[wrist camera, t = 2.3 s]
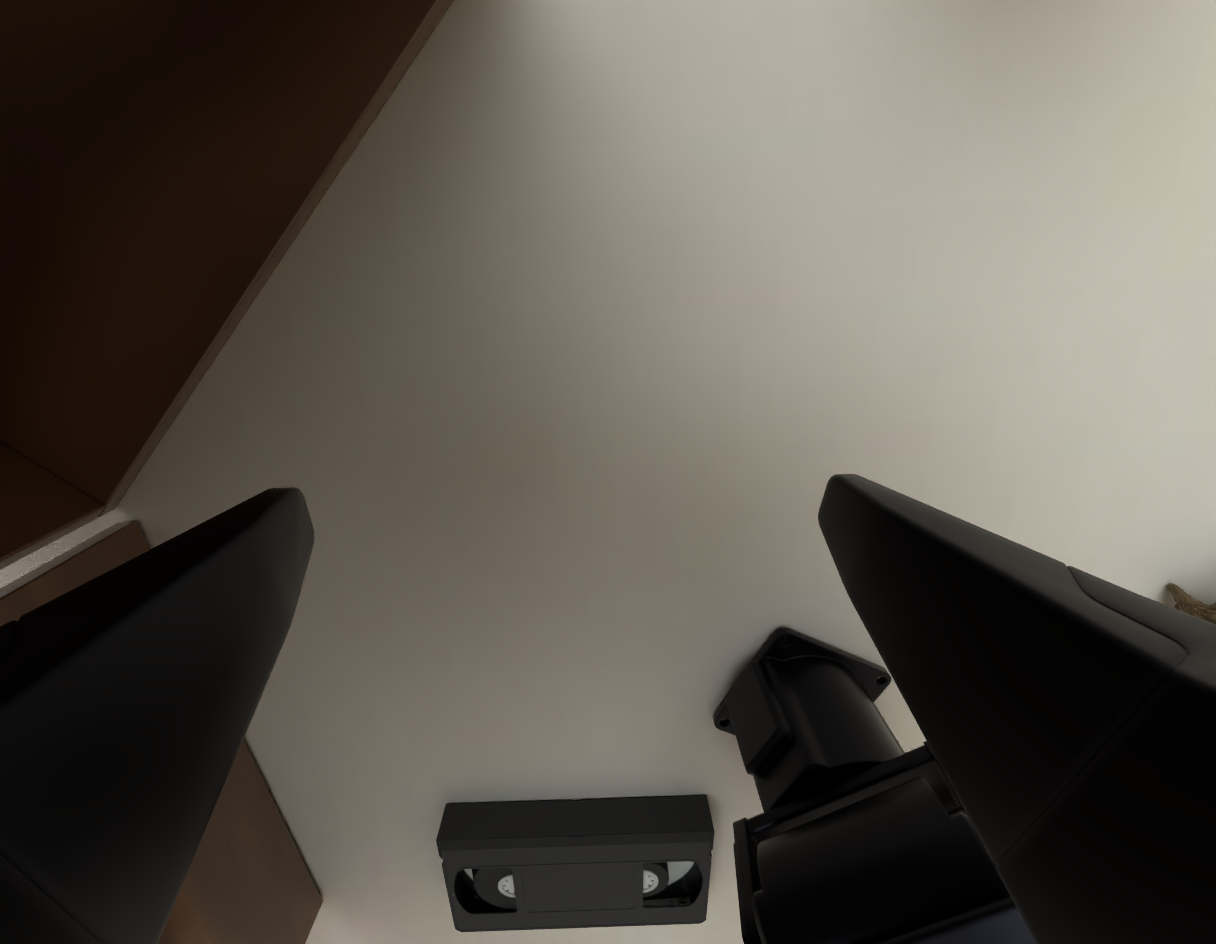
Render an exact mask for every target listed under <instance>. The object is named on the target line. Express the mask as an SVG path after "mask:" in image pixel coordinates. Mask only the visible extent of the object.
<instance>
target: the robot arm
mask: <svg viewBox="0 0 1216 944" xmlns="http://www.w3.org/2000/svg"><path fill="white" fill-rule="evenodd" d="M818 521H819V525H820V528H821V530H822V533H823V535H824V538H825V540H826V543H827V545H828V548H829V550H830V553H831V555H832V557H833V560H834V562H835V565H836V567H837V570H838V572H839V575H840V577H841V580H842V582H843V584H844V586H845V589H846V591H847V593H848V595H849V597H850V599H851V601H852V603H853V605H854V607H855V609H856V611H857V613H858V614H859V616H860V618H861V620H862V622H863V624H864V626H865V627H866V629H867V631H868V633H869V635H870V637H871V638H872V640H873V642H874V644H875V646H876V648H877V650H878V651H879V653H880V655H881V657H882V659H883V661H884V662H885V664H886V666H887V668H888V670H889V672H890V674H891V675H892V677H893V679H894V681H895V683H896V685H897V687H898V688H899V690H900V692H901V694H902V696H903V698H904V699H905V701H906V703H907V705H908V707H909V709H910V711H911V712H912V714H913V716H914V718H915V720H916V722H917V723H918V725H919V727H920V729H921V731H922V733H923V735H924V736H925V738H926V740H927V741H925V742H923V743H924V745H923V746H921V747H918V748H916V749H914V750H911V751H909V752H906V753H905V752H904V751H903V749H902V747H901V746H900V744H899V743H898V741H897V739H896V738H895V736H894V734H893V733H892V731H891V730H890V728H889V726H888V725H887V723H886V722H885V720H884V718H883V717H882V715H881V714H880V712H879V710H878V709H877V707H876V705H875V704H874V701H875V700H876V699H877V698H878V697H879V695H880V694H881V693H882V692H883V691H884V690H885V689H886V687H887V686H888V685H889V684H890V682H891V677H890V675H889V673H888V672H887V671H886V669H884V668H883V667H880V666H878V665H876V664H873V663H871V662H868V661H866V660H864V659H861V658H859V657H856V656H854V655H852V654H849V653H847V652H844V651H842V650H839V649H837V648H835V647H832V646H830V645H827V644H825V643H823V642H820V641H818V640H815V639H813V638H811V637H808V636H806V635H803V634H801V633H798V632H796V631H794V630H791V629H789V628H780V629H777V630H776V631H775V632H774V633H773V634H772V636H771V637H770V638H769V640H768V641H767V642H766V644H765V645H764V646H763V648H762V649H761V650H760V652H759V653H758V655H757V656H756V657H755V659H754V660H753V661H752V662H751V663H750V664H749V666H748V667H747V668H746V670H745V671H744V672H743V674H742V675H741V676H740V678H739V679H738V680H737V682H736V683H735V685H734V686H733V687H732V689H731V690H730V691H729V693H728V694H727V695H726V697H725V699H724V701H723V702H722V703H721V705H720V706H719V707H718V709H717V710H716V711H715V713H714V715H713V720H714V724H715V726H716V728H718V729H719V730H722V731H725V732H728V733H730V734H733V735H736V738H737V742H738V745H739V749H740V752H741V755H742V759H743V762H744V766H745V769H746V771H747V773H748V774H750V775H753V777H754V780H755V784H756V787H757V790H758V794H759V797H760V800H761V804H762V807H763V810H764V813H762V814H759V815H757V816H754V817H752V818H750V819H746V818H743V819H741V820H738V821H736V822H734V823H733V828H734V839H735V843H734V856H735V867H736V877H737V888H738V899H739V909H740V920H741V931H742V938H743V942H744V944H1216V625H1215V624H1212V623H1210V622H1207V621H1205V620H1202V619H1199V618H1197V617H1194V616H1192V615H1189V614H1187V613H1184V612H1181V611H1179V610H1176V609H1174V608H1171V607H1169V606H1166V605H1164V604H1161V603H1159V602H1156V601H1154V600H1151V599H1149V598H1146V597H1143V596H1141V595H1138V594H1136V593H1134V592H1131V591H1129V590H1126V589H1124V588H1122V587H1119V586H1117V585H1114V584H1112V583H1110V582H1107V581H1105V580H1102V579H1100V578H1098V577H1095V576H1093V575H1090V574H1088V573H1086V572H1083V571H1081V570H1079V569H1076V568H1074V567H1072V566H1067V567H1066V565H1065V564H1064V563H1062V562H1060V561H1057V560H1055V559H1053V558H1050V557H1048V556H1046V555H1043V554H1041V553H1039V552H1036V551H1034V550H1032V549H1029V548H1027V547H1025V546H1022V545H1020V544H1018V543H1015V542H1013V541H1011V540H1008V539H1006V538H1004V537H1001V536H999V535H997V534H994V533H992V532H990V531H987V530H985V529H983V528H980V527H978V526H976V525H973V524H971V523H969V522H966V521H964V520H962V519H959V518H957V517H955V516H952V515H950V514H948V513H945V512H943V511H941V510H938V509H936V508H933V507H931V506H929V505H926V504H924V503H922V502H919V501H917V500H915V499H912V498H910V497H908V496H905V495H903V494H901V493H898V492H896V491H894V490H891V489H889V488H887V487H884V486H882V485H880V484H877V483H875V482H873V481H870V480H868V479H866V478H863V477H861V476H859V475H856V474H837V475H834V476H832V477H831V478H830V479H829V481H828V483H827V487H826V490H825V493H824V496H823V499H822V502H821V506H820V509H819V513H818ZM313 544H314V529H313V525H312V522H311V518H310V515H309V511H308V508H307V505H306V501H305V498H304V495H303V493H302V492H301V490H299V489H298V488H293V487H291V488H270V489H268V490H266V491H264V492H262V493H260V494H258V495H256V496H254V497H252V498H250V499H248V500H246V501H244V502H242V503H240V504H238V505H236V506H234V507H233V508H231V509H229V510H227V511H225V512H223V513H221V514H219V515H217V516H215V517H213V518H211V519H209V520H207V521H205V522H203V523H201V524H199V525H197V526H196V527H194V528H192V529H190V530H188V531H186V532H184V533H182V534H180V535H178V536H176V537H174V538H172V539H170V540H168V541H166V542H164V543H162V544H160V545H159V546H157V547H155V548H153V549H151V550H149V551H147V552H145V553H143V554H141V555H139V556H137V557H135V558H133V559H131V560H129V561H127V562H125V563H123V564H121V565H120V566H118V567H116V568H114V569H112V570H110V571H108V572H106V573H104V574H102V575H100V576H98V577H96V578H94V579H92V580H90V581H88V582H86V583H84V584H83V585H81V586H79V587H77V588H75V589H73V590H71V591H69V592H67V593H65V594H63V595H61V596H59V597H57V598H55V599H53V600H51V601H49V602H47V603H46V604H44V605H42V606H40V607H38V608H36V609H34V610H32V611H30V612H28V613H26V614H24V615H22V616H21V617H20V618H19V621H16V620H13V621H10V622H8V623H6V624H4V625H2V626H0V944H158V942H159V940H160V937H161V935H162V932H163V930H164V928H165V925H166V923H167V920H168V918H169V916H170V913H171V911H172V908H173V906H174V904H175V901H176V899H177V897H178V894H179V892H180V889H181V887H182V885H183V882H184V880H185V877H186V875H187V873H188V870H189V868H190V865H191V863H192V861H193V858H194V856H195V853H196V851H197V849H198V846H199V844H200V841H201V839H202V837H203V834H204V832H205V830H206V827H207V825H208V822H209V820H210V818H211V815H212V813H213V810H214V808H215V806H216V803H217V801H218V798H219V796H220V794H221V791H222V789H223V786H224V784H225V782H226V779H227V777H228V774H229V772H230V770H231V767H232V765H233V763H234V760H235V758H236V755H237V753H238V751H239V748H240V746H241V743H242V741H243V739H244V736H245V734H246V731H247V729H248V727H249V724H250V722H251V719H252V717H253V715H254V712H255V710H256V707H257V705H258V703H259V700H260V698H261V696H262V693H263V691H264V688H265V686H266V684H267V681H268V679H269V676H270V674H271V672H272V669H273V667H274V664H275V662H276V660H277V657H278V655H279V652H280V650H281V648H282V645H283V643H284V640H285V638H286V635H287V633H288V630H289V628H290V625H291V622H292V619H293V616H294V612H295V609H296V605H297V602H298V598H299V594H300V591H301V587H302V584H303V580H304V576H305V573H306V569H307V566H308V562H309V558H310V555H311V551H312V548H313ZM783 638H787V639H786V640H783V641H781V639H783ZM879 677H880V678H879ZM877 678H878V679H877ZM722 719H725V720H722Z"/></svg>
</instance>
